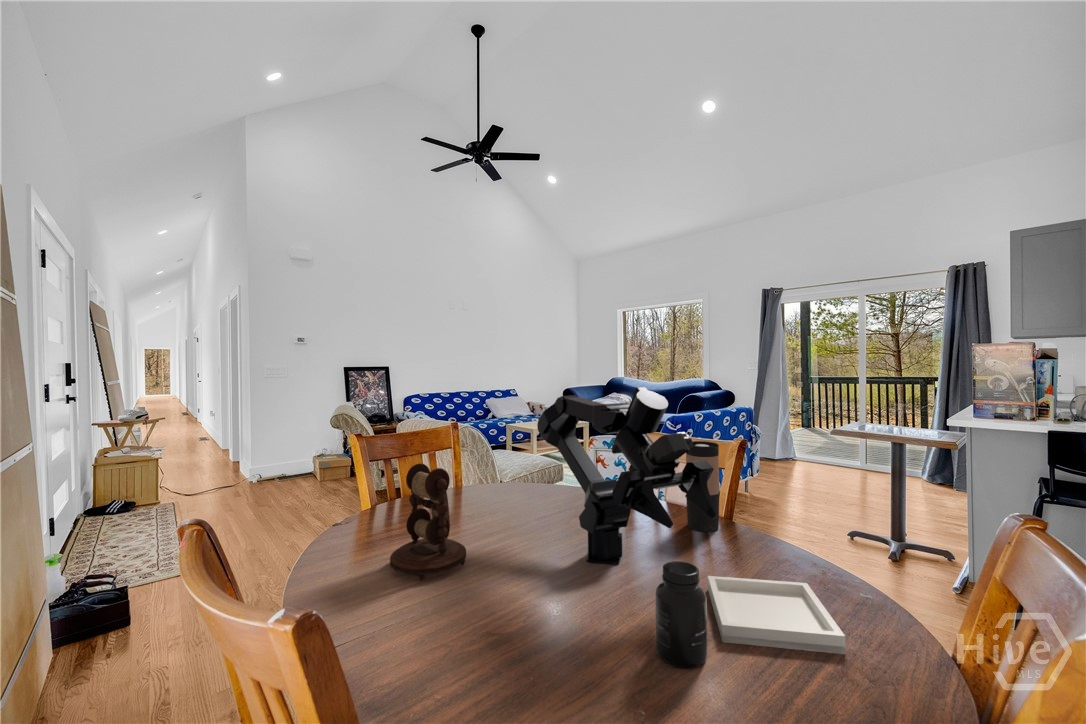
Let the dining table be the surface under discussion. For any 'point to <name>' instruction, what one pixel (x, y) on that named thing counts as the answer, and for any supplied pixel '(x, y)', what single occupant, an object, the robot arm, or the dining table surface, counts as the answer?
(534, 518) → the dining table surface
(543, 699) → the dining table surface
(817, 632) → the tray
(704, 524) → the travel mug
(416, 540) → the thread spool stand
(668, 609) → the supplement bottle
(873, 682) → the dining table surface
